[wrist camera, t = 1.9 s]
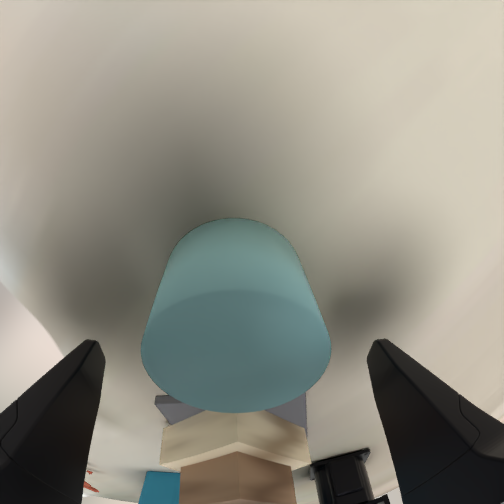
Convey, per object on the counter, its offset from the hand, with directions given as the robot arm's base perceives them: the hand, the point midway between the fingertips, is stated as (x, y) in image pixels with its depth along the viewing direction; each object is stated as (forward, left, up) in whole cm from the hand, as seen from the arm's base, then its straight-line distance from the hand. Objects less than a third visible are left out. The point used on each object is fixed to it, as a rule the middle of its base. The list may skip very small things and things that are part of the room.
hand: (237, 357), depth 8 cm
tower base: (-12, +3, -3) cm, 13 cm away
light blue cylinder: (0, 0, -4) cm, 4 cm away
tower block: (-12, +3, 0) cm, 12 cm away
